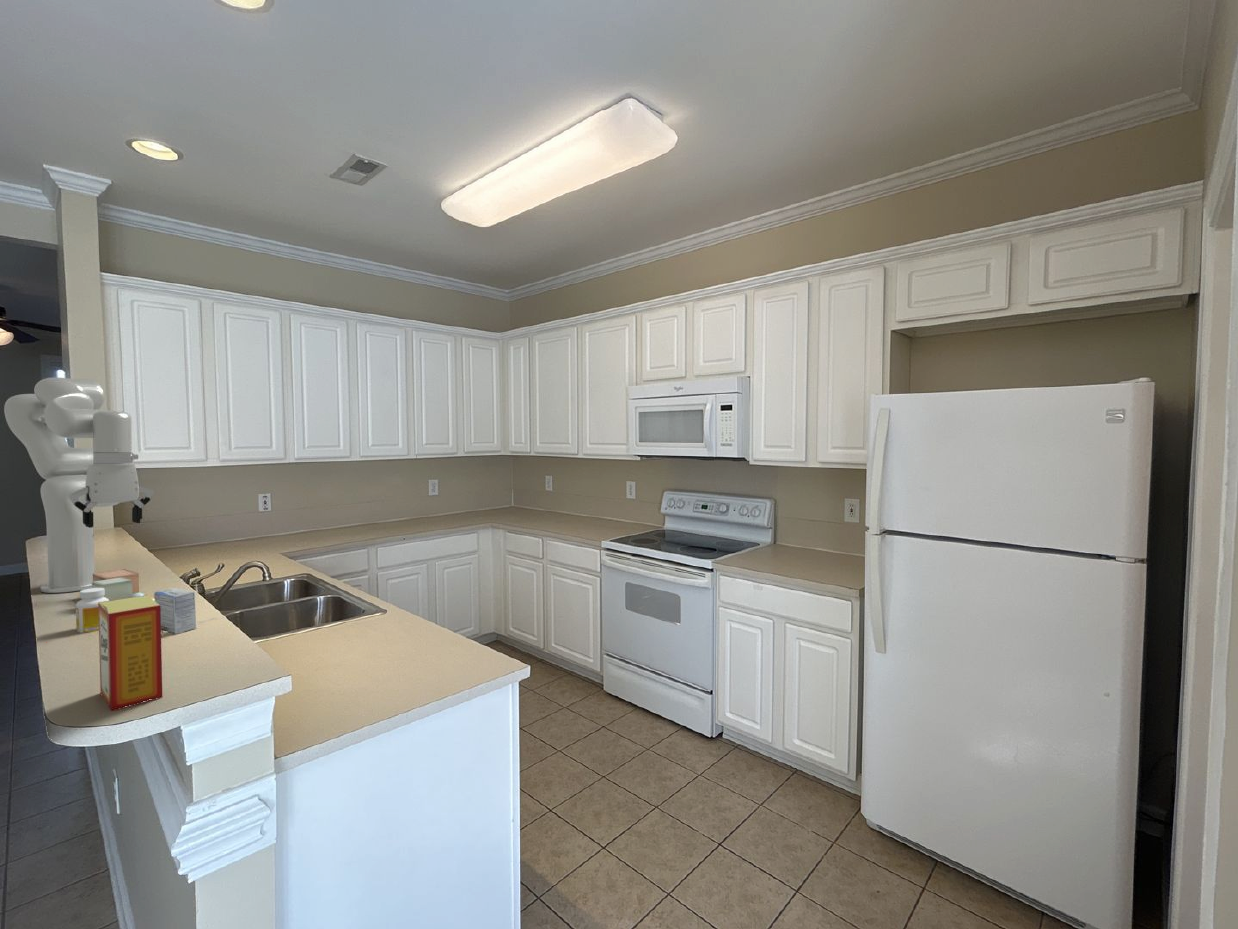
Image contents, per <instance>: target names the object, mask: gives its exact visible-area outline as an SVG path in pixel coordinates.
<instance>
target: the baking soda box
mask: <svg viewBox="0 0 1238 929" xmlns="http://www.w3.org/2000/svg"><path fill="white" fill-rule="evenodd" d="M151 597H152V596H149V595H148V594H144V595H143V596H137V597H130V598H124V599H117V600H111V601H104V602H98V615H99V631H98V644H99V645H98V648H99V681H100V682H99V683H100V684H99V686H100V695H101V694H102V695H101V696H102V698H103V700H104V699H105V700H104V701H105V703H106V705H107V707H108V708H109V710H110V711H111V712H114V711H116V710H120V709H119V708H121V709H124V708H123V707H125V706H128V707H130V706H129V705H132V706H135V705H134V704H136V705H138V704H137V703H140V704H142V703H141V702H143V701H147V700H149V699H155V700H157V699H156V698H159V699H161V698H160V697H162V698H163V666H162V665H163V664H162V663H163V659H162V630H161V629H162V626H161V607H160V605H159V604H158V603H157V602H155V601H154V600H153V599H152V598H151ZM147 702H148V701H147ZM143 703H144V702H143ZM125 708H126V707H125Z"/></svg>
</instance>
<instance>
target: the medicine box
mask: <svg viewBox="0 0 1238 929" xmlns="http://www.w3.org/2000/svg"><path fill="white" fill-rule="evenodd" d="M153 595H154V596H153V598H154V601H155V602H157V603H158V604H159V605H160V607H161V627H164V628H161V631H162V632H166V633H167V632H168V633H170V634H174V635H178V634H181V633H185V632H189V631H192V630H193V631H194V630H195V629H197V614H196V611H197V610H196V609H197V608H196V592H195V591H194V590H193V591H192V590H188V589H185V588H179V587H171V588H165V589H161V590H158V591H154V594H153Z"/></svg>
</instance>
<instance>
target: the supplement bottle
mask: <svg viewBox="0 0 1238 929" xmlns="http://www.w3.org/2000/svg"><path fill="white" fill-rule="evenodd" d="M103 595H105V590H104V588H89V589H84V590H79V599H81V598H82V600H80V601H79V602H77V603H76V604H75V618H76V619H75V620H76V621H75V623H76V624H75V626H76V632H77V633H92V632H93V633H94V632H99V615H98V602H104V601H109V600H108V599H107V598H105V597H103Z"/></svg>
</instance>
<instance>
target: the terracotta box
mask: <svg viewBox="0 0 1238 929" xmlns="http://www.w3.org/2000/svg"><path fill="white" fill-rule="evenodd" d="M139 574H140V573H138V572H135V571H132V570H129V569H126V568H122V569H116V570H108V571H102V572H95V574H93V582H94V581H100V580H107V579H113V578H119V577H124V578H127V579H130V580H132V594H135V593H140V582H139V581H140V580H139V579H140V578H139V577H140V576H139Z"/></svg>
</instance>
